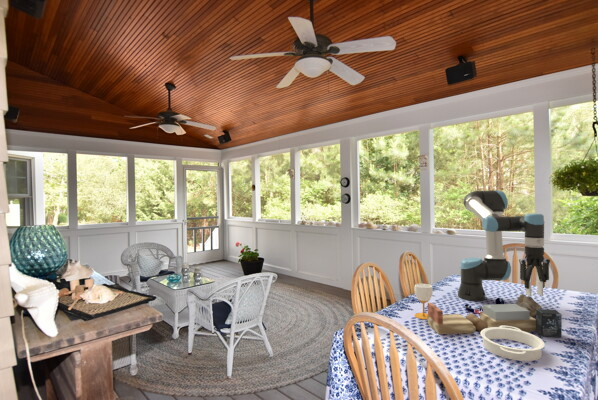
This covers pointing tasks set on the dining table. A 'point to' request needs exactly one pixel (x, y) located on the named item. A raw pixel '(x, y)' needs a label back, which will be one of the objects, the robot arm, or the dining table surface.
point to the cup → (423, 297)
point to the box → (548, 323)
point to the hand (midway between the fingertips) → (534, 294)
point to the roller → (477, 322)
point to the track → (463, 325)
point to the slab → (506, 312)
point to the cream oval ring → (516, 336)
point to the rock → (528, 304)
